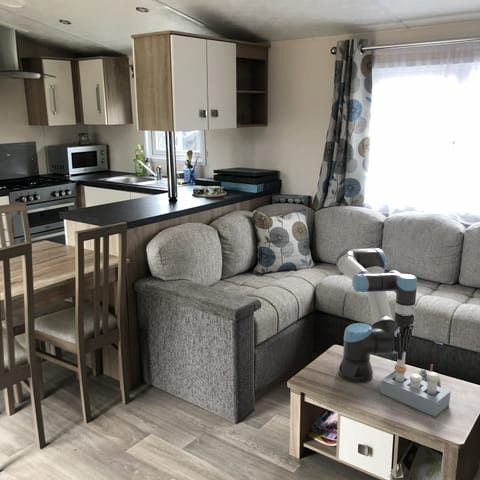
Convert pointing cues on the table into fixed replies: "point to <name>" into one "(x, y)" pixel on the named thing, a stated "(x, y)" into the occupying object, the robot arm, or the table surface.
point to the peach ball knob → (399, 373)
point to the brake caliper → (424, 376)
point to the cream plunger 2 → (432, 383)
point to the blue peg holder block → (415, 395)
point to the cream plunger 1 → (415, 381)
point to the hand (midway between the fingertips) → (400, 365)
